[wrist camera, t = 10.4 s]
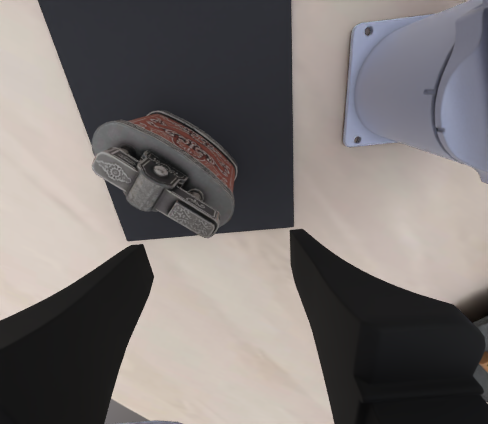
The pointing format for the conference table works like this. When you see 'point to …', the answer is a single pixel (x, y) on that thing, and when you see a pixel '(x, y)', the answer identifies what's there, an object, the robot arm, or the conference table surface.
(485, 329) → the serving tray
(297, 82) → the conference table surface
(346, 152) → the conference table surface
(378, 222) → the conference table surface
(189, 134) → the lighter
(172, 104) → the desk mat
